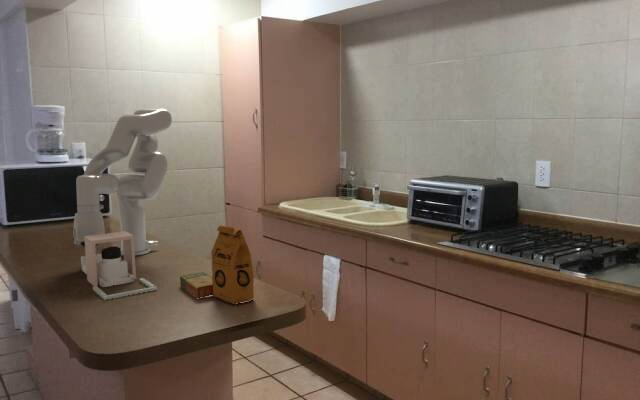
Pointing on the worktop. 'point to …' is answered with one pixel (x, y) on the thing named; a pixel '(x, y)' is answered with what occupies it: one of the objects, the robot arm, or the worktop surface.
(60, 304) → the worktop surface
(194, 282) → the carton
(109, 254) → the medicine bottle
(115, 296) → the frame
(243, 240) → the coffee package
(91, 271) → the cubby
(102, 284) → the rack
